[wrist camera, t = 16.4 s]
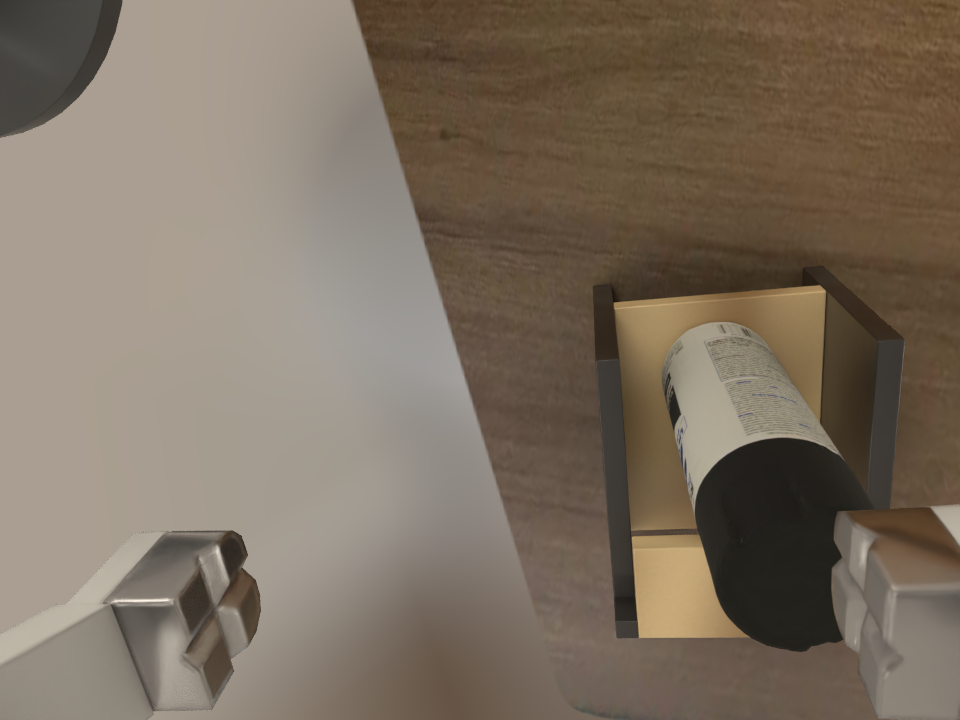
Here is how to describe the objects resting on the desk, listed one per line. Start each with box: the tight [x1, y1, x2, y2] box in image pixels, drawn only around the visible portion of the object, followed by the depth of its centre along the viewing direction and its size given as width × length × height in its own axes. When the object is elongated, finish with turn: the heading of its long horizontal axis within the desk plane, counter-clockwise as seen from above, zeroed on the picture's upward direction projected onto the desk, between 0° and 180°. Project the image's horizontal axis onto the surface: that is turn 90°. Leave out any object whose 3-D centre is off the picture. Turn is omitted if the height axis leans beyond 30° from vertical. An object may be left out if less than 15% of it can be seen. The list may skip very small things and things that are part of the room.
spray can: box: [661, 322, 876, 652], centre depth 35 cm, size 7×7×20 cm
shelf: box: [593, 266, 905, 638], centre depth 43 cm, size 14×16×15 cm
